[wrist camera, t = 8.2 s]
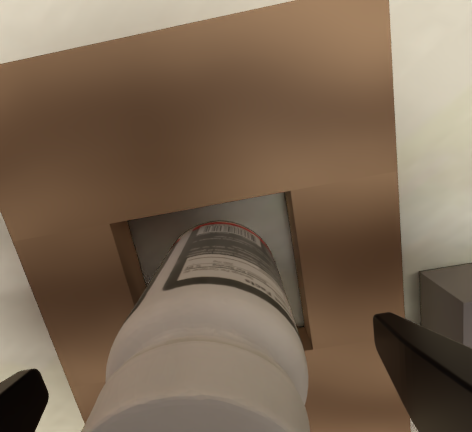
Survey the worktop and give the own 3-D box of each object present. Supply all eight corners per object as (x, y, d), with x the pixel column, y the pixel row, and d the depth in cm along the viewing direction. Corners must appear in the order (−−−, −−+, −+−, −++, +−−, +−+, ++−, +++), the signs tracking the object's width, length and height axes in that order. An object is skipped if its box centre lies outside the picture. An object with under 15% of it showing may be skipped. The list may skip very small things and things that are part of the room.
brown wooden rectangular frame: (393, 414, 14) (411, 444, 13) (121, 452, 15) (109, 485, 14) (366, 4, 10) (387, -20, 9) (-14, 84, 11) (-54, 75, 9)
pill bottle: (209, 337, 13) (167, 638, 5) (144, 259, 12) (-32, 478, 4) (296, 283, 13) (403, 535, 5) (234, 196, 12) (227, 316, 4)
